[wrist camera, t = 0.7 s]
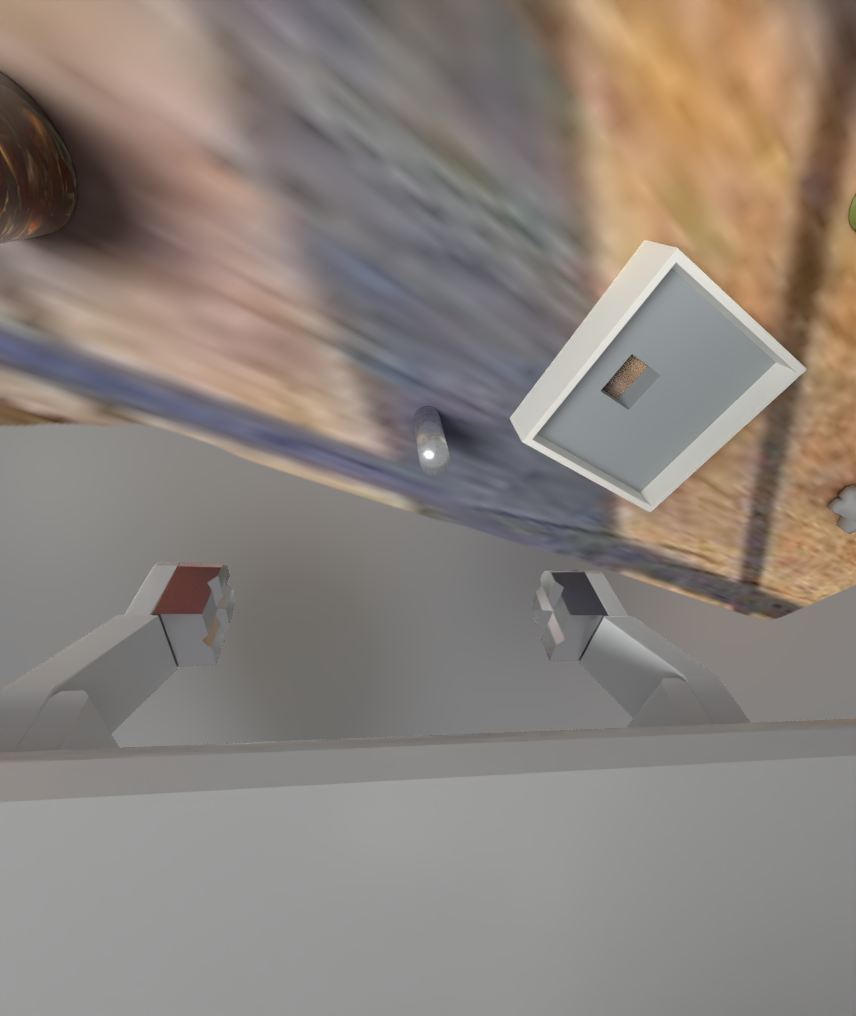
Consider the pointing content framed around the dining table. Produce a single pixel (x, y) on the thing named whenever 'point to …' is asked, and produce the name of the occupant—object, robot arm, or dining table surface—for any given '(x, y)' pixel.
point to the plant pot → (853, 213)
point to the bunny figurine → (846, 508)
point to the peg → (431, 441)
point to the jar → (31, 169)
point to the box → (654, 380)
